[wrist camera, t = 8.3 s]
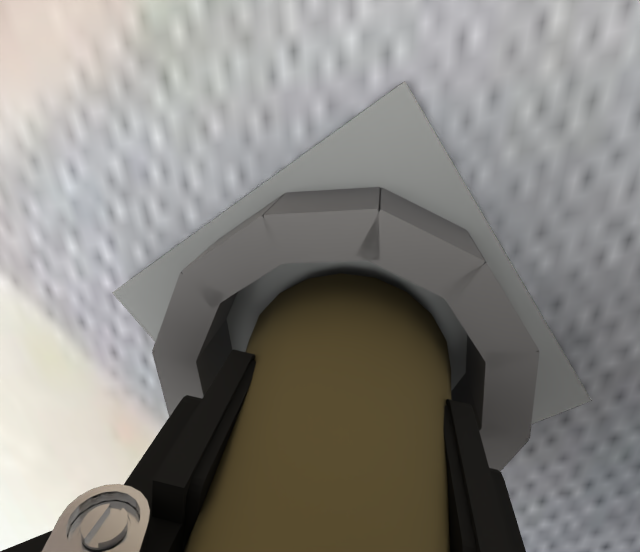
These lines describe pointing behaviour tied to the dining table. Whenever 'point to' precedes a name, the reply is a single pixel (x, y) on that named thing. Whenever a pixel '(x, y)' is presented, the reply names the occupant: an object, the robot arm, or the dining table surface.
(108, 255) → the dining table surface
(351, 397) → the brown round-headed peg
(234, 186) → the dining table surface
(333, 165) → the ring board
